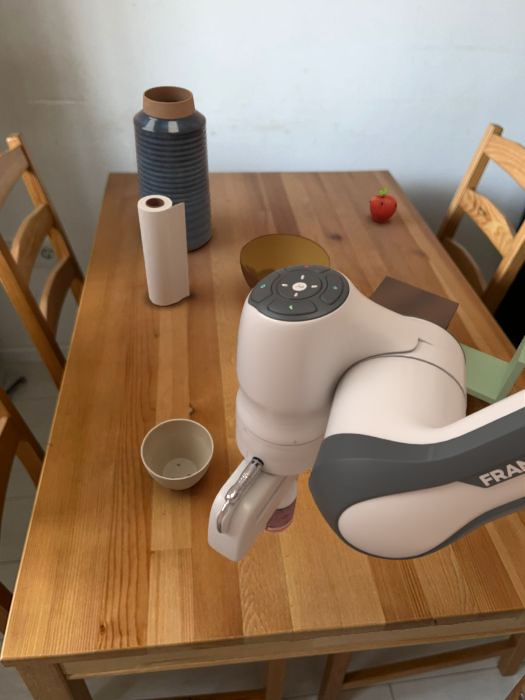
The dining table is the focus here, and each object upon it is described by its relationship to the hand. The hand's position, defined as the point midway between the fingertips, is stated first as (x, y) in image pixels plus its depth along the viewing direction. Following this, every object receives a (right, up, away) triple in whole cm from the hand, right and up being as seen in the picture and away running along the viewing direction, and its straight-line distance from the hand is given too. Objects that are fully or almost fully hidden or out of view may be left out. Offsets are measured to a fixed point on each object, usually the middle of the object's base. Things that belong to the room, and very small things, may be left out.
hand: (274, 501), depth 57 cm
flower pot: (-14, -2, +19) cm, 24 cm away
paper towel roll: (-21, +27, +48) cm, 59 cm away
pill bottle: (0, -2, +2) cm, 3 cm away
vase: (-21, +44, +65) cm, 82 cm away
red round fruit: (+29, +50, +75) cm, 95 cm away
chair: (+35, +9, +34) cm, 50 cm away
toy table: (+22, +15, +39) cm, 47 cm away
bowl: (+3, +28, +51) cm, 58 cm away
